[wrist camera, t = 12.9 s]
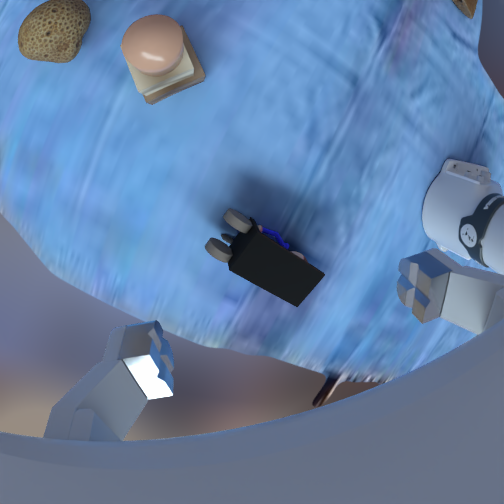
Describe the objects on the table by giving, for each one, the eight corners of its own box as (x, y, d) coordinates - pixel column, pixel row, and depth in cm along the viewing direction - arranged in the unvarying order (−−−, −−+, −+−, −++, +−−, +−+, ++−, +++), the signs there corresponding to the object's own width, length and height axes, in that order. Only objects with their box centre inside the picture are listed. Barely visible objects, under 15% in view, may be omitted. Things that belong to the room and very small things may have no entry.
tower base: (183, 36, 29) (182, 25, 24) (203, 81, 32) (205, 75, 27) (132, 60, 29) (123, 52, 24) (152, 104, 32) (146, 102, 27)
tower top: (176, 35, 25) (174, 21, 20) (193, 75, 27) (193, 68, 23) (130, 55, 25) (120, 45, 20) (146, 96, 27) (138, 91, 23)
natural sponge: (68, 2, 22) (39, -22, 13) (113, 19, 25) (92, -7, 16) (31, 56, 24) (-7, 46, 15) (74, 76, 27) (40, 67, 19)
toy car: (203, 237, 42) (287, 286, 47) (200, 258, 35) (298, 312, 40) (229, 198, 41) (313, 252, 45) (230, 211, 34) (329, 273, 38)
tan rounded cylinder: (179, 26, 21) (178, 8, 16) (187, 69, 23) (187, 59, 18) (129, 38, 20) (118, 24, 16) (136, 82, 22) (125, 75, 18)
